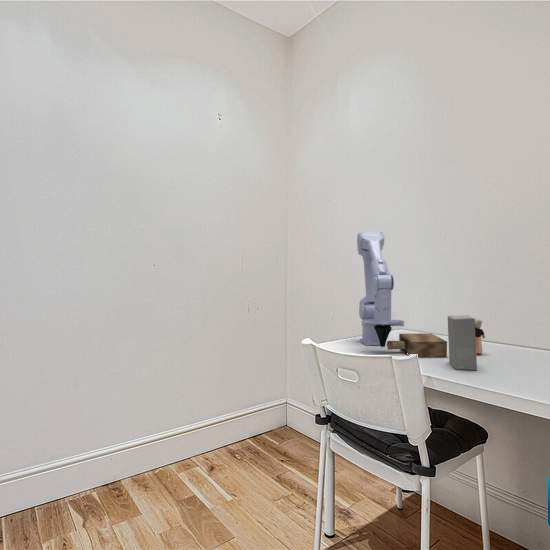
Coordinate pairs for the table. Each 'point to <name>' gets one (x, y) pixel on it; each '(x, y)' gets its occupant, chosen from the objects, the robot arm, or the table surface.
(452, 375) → the table surface
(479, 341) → the grandmother figurine
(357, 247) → the robot arm
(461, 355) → the skincare box
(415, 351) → the block
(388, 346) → the peg
